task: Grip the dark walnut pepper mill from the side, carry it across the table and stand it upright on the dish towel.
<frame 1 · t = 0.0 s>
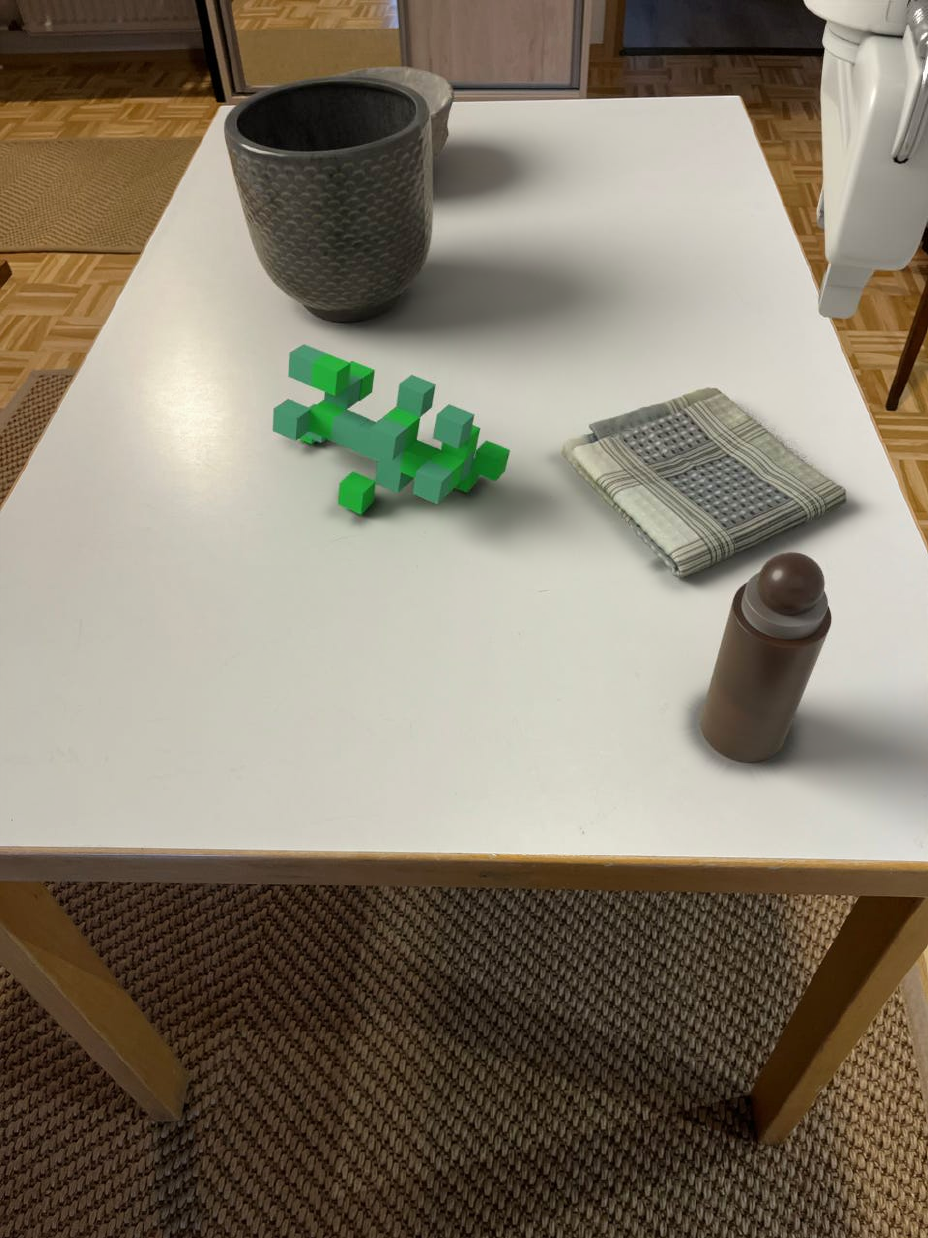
hand: (832, 264, 50), 27 cm above the table, tool pointing down, fingers open, 8 cm apart
pepper mill: (742, 727, 63), on the table
building blocks: (390, 482, 81), on the table
bowl: (379, 177, 122), on the table
planter: (352, 298, 102), on the table
dish towel: (694, 483, 80), on the table
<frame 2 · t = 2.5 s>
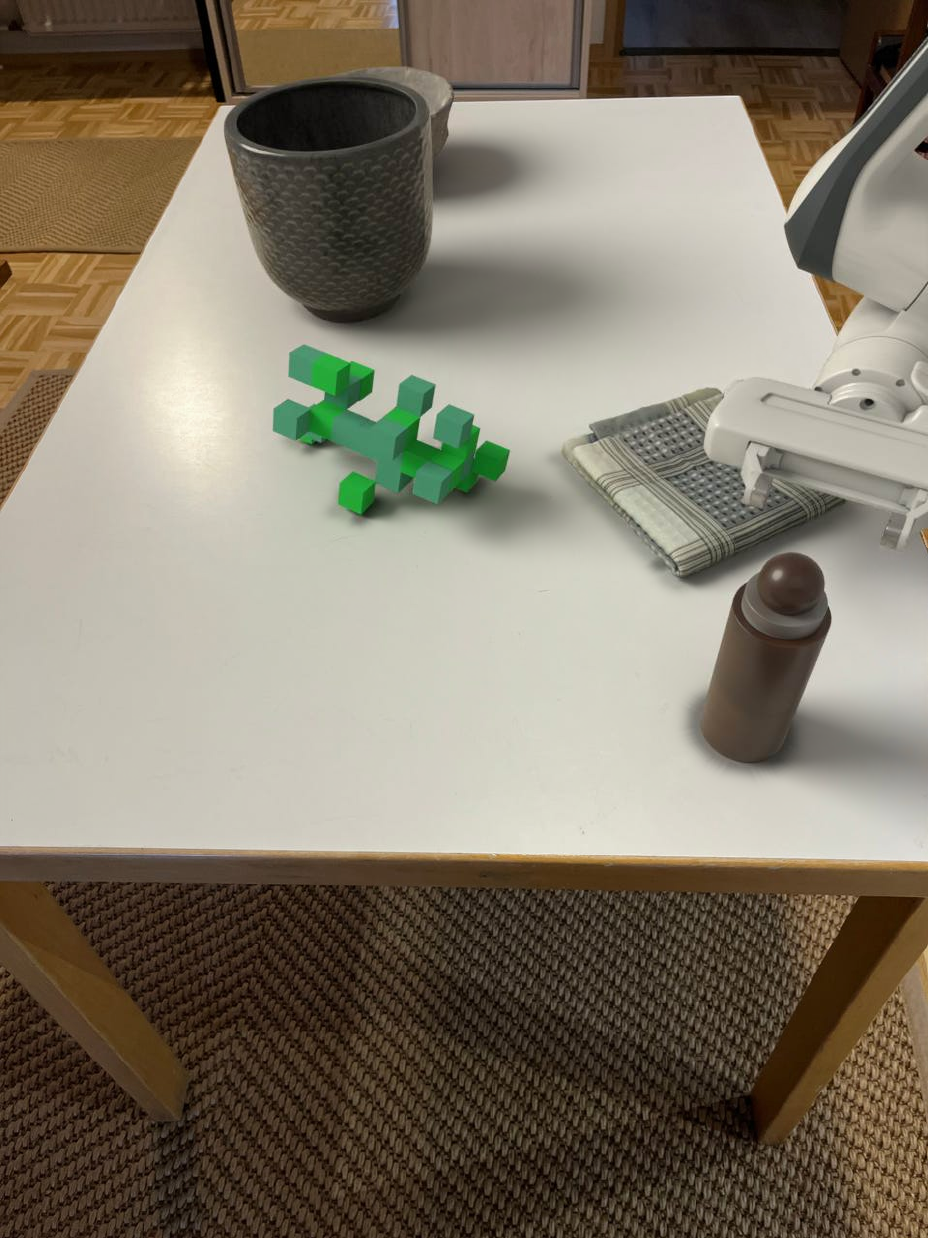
hand: (821, 519, 63), 9 cm above the table, tool horizontal, fingers open, 8 cm apart
nothing on the table moved.
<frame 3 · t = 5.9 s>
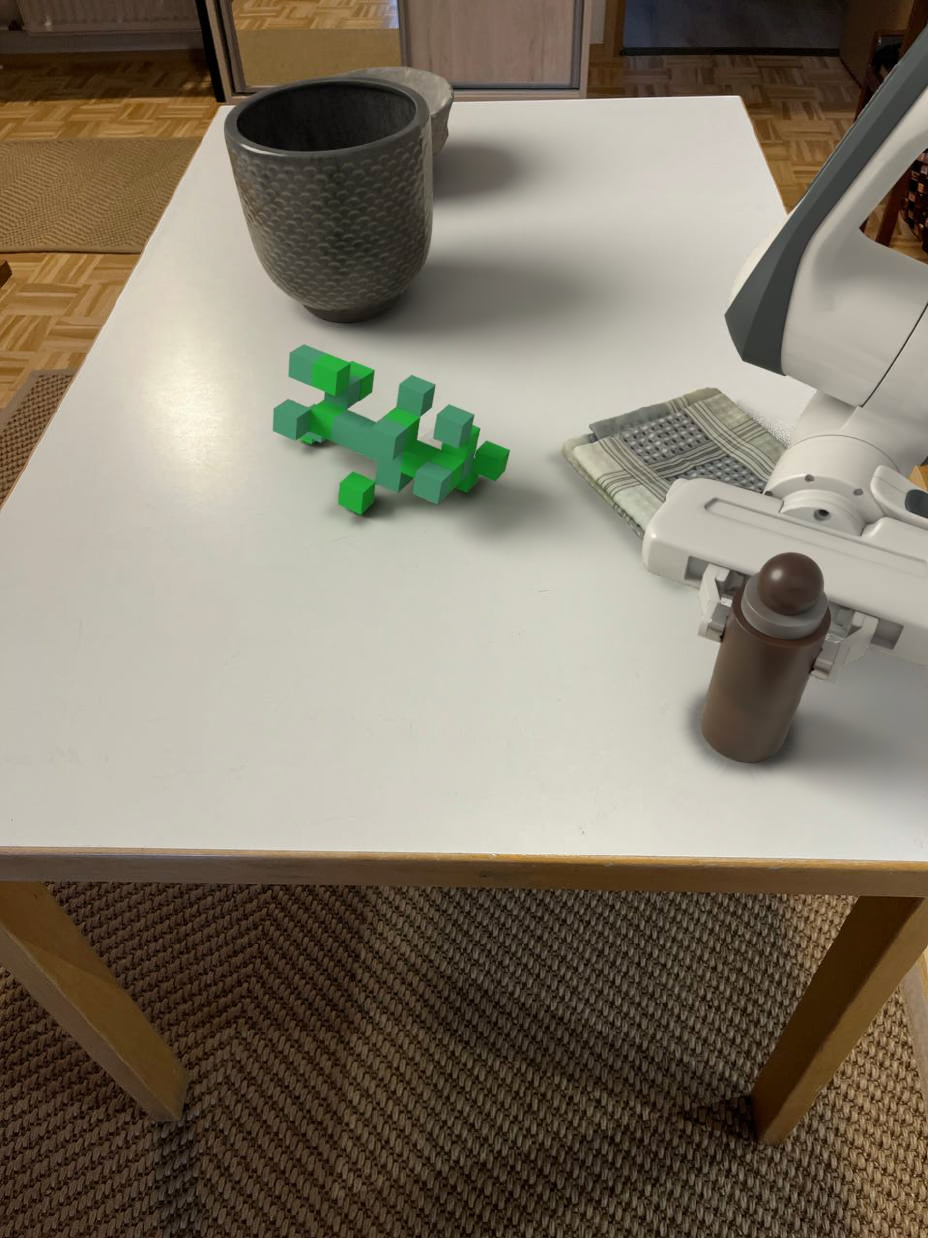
hand: (766, 653, 55), 9 cm above the table, tool horizontal, fingers closed on pepper mill, 5 cm apart
pepper mill: (742, 727, 63), on the table, touching gripper
everything else where it was.
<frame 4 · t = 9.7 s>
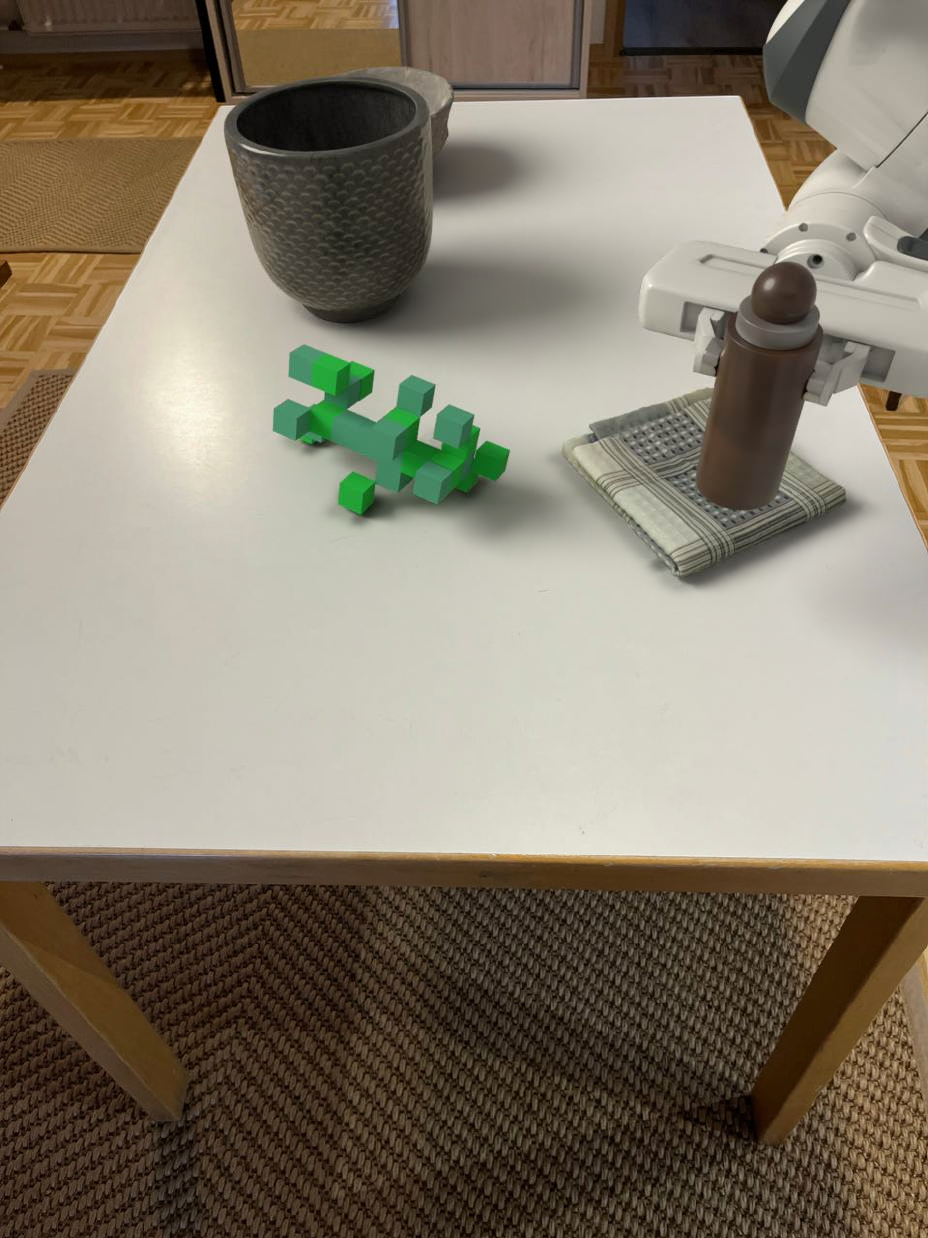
hand: (760, 379, 56), 19 cm above the table, tool horizontal, fingers closed on pepper mill, 5 cm apart
pepper mill: (736, 483, 64), point 10 cm above the table, touching gripper
everything else where it was.
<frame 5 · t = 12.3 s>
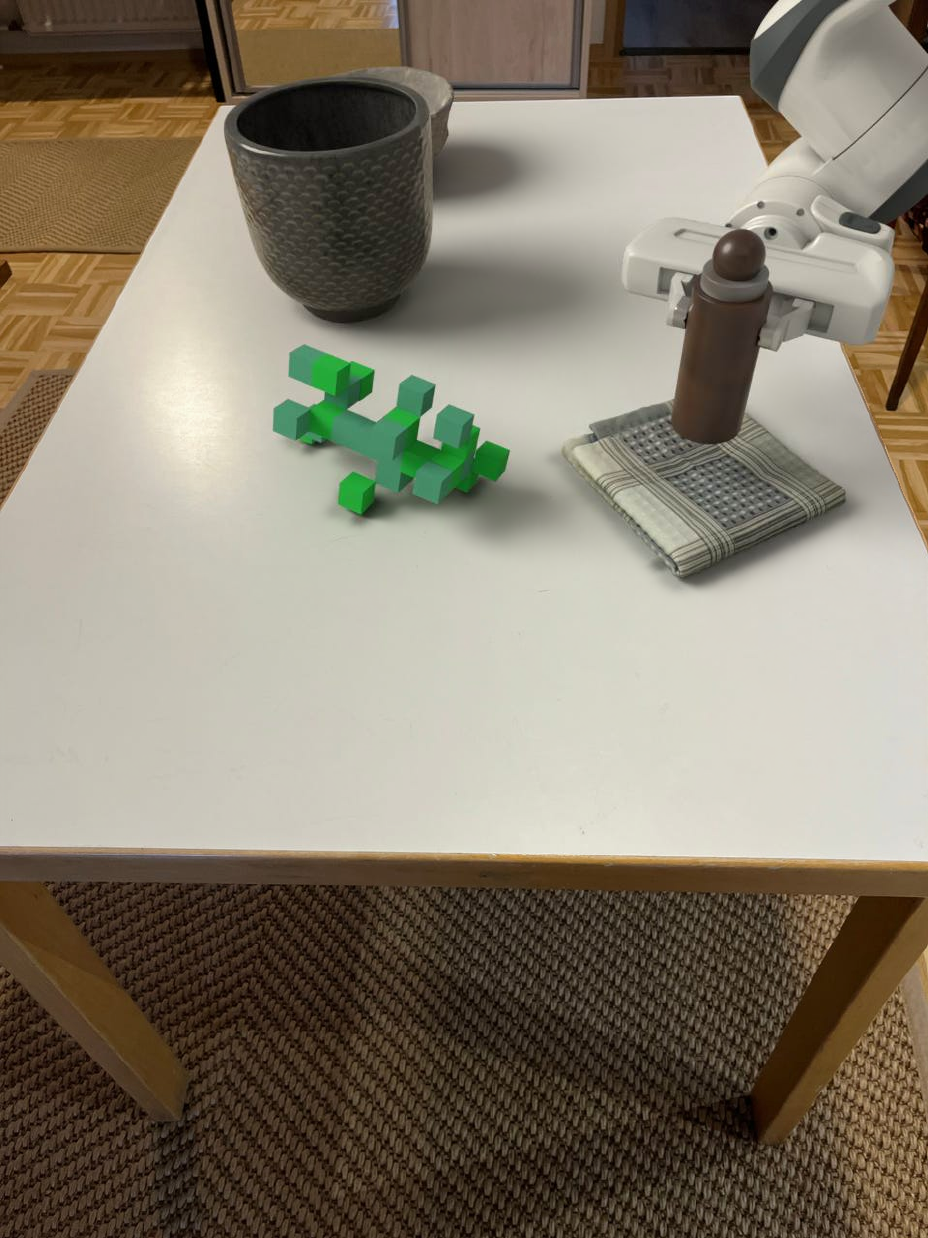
hand: (722, 329, 68), 15 cm above the table, tool horizontal, fingers closed on pepper mill, 5 cm apart
pepper mill: (705, 423, 75), point 6 cm above the table, touching gripper
everything else where it was.
when the fingers open (12 cm above the table, at t = 13.9 s): pepper mill stays where it is, resting on dish towel.
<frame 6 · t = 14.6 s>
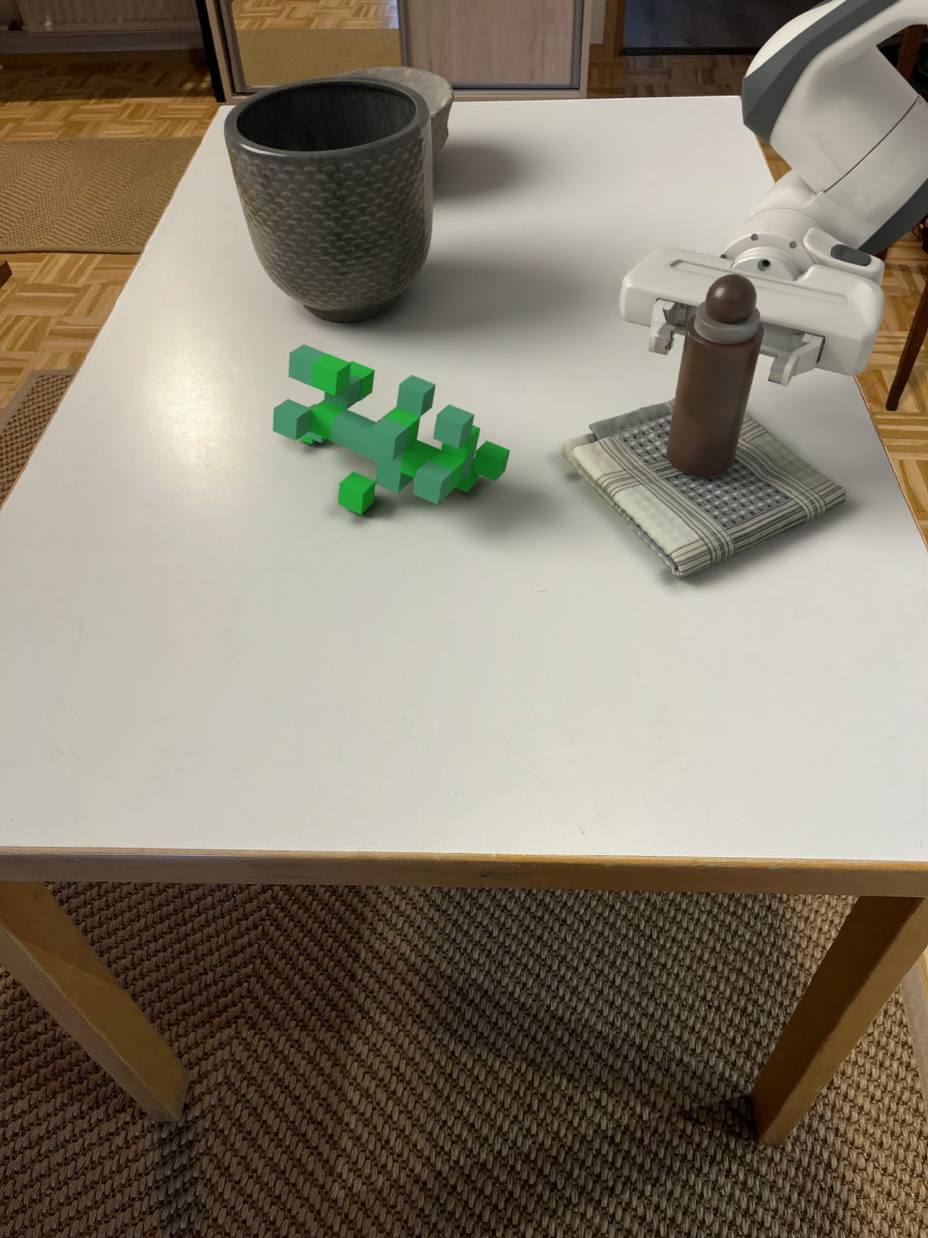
hand: (716, 360, 70), 13 cm above the table, tool horizontal, fingers open, 8 cm apart
pepper mill: (699, 455, 77), point 3 cm above the table, touching dish towel
dish towel: (694, 483, 80), on the table, touching pepper mill
everything else where it was.
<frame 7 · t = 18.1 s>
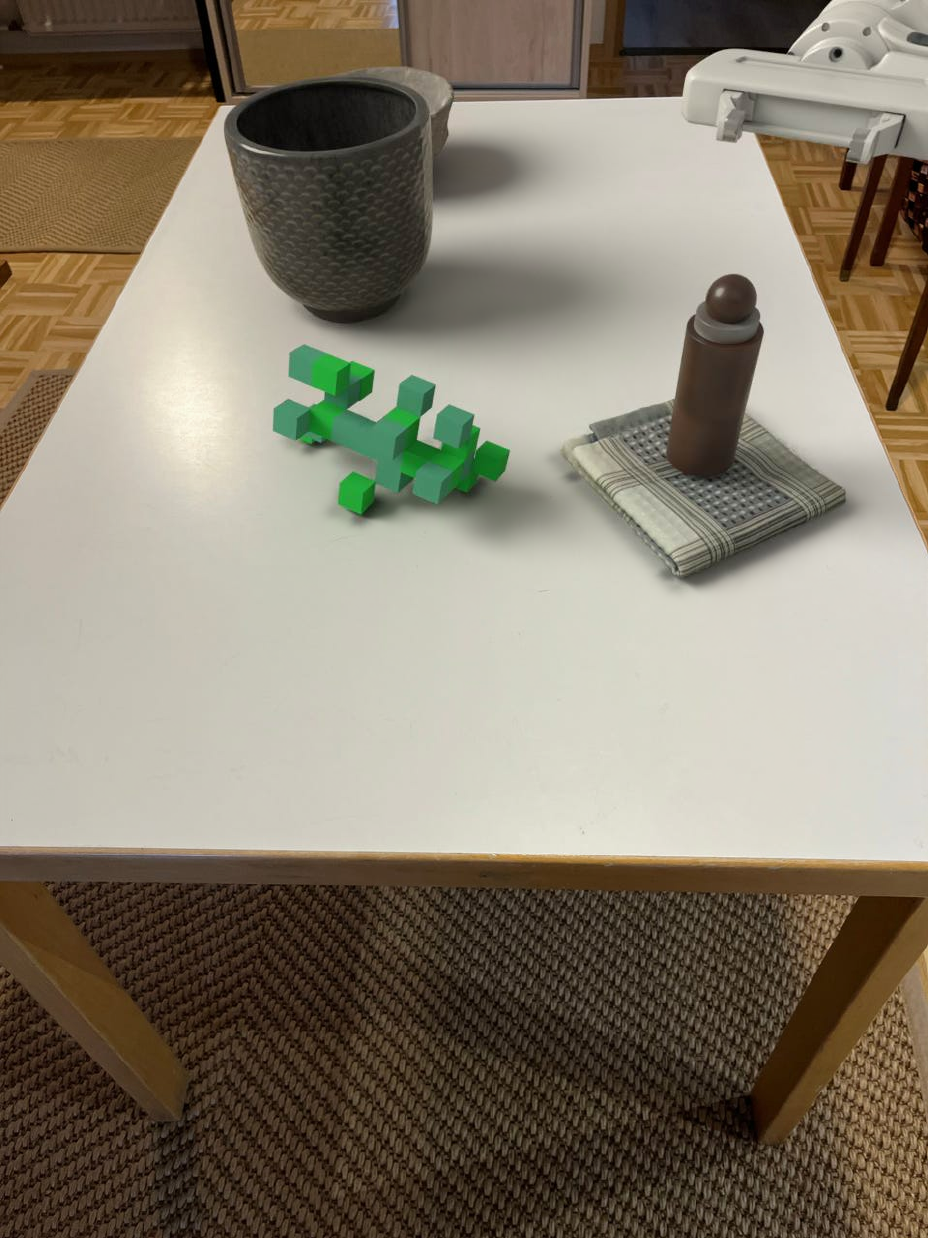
hand: (791, 141, 66), 25 cm above the table, tool horizontal, fingers open, 8 cm apart
nothing on the table moved.
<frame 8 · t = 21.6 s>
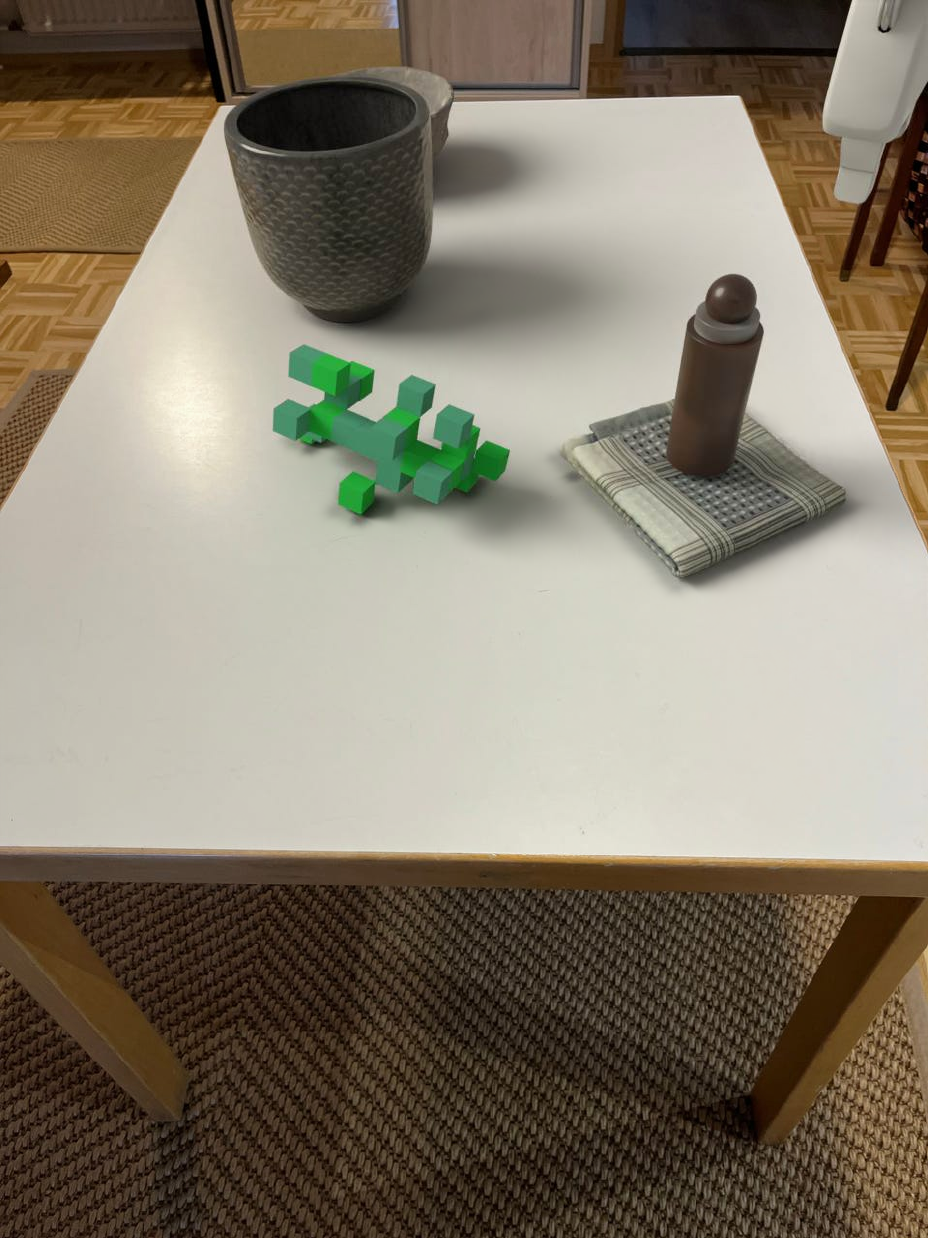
hand: (871, 163, 53), 29 cm above the table, tool pointing down, fingers open, 8 cm apart
nothing on the table moved.
at the end: pepper mill inside the target area on the dish towel (0.1 cm from its centre), point 3.0 cm above the dish towel's base; pepper mill tilted 0°; the gripper is holding nothing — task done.
